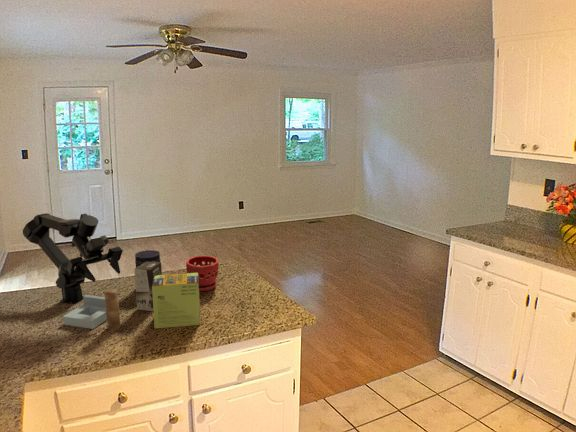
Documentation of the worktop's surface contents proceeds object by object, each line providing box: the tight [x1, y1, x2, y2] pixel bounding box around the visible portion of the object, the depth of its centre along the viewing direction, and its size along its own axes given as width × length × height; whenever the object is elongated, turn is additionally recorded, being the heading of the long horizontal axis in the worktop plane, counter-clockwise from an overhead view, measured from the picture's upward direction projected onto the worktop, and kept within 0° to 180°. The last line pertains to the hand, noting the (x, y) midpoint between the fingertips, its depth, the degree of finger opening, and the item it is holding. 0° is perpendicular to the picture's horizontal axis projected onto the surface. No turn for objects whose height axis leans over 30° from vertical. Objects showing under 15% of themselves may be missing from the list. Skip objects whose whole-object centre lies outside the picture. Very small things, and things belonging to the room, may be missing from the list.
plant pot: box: [185, 255, 219, 292], centre depth 184 cm, size 13×13×12 cm
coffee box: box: [134, 261, 163, 312], centre depth 166 cm, size 9×6×16 cm
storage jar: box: [134, 249, 161, 268], centre depth 182 cm, size 10×10×15 cm
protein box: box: [152, 272, 201, 329], centre depth 154 cm, size 10×15×16 cm
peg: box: [104, 288, 121, 331], centre depth 149 cm, size 4×4×13 cm
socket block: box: [62, 294, 107, 330], centre depth 155 cm, size 12×12×6 cm
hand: (107, 276), depth 154 cm, fingers open, 9 cm apart
